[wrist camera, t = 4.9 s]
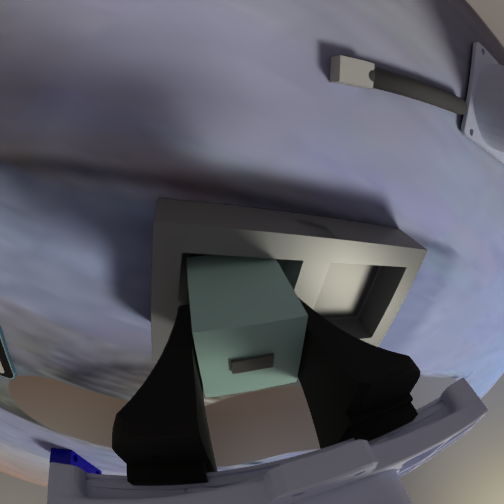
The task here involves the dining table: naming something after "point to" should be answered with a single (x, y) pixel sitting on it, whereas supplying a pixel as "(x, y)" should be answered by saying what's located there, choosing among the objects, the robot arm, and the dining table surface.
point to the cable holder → (72, 460)
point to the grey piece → (286, 262)
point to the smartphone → (5, 360)
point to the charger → (244, 323)
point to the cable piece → (391, 83)
